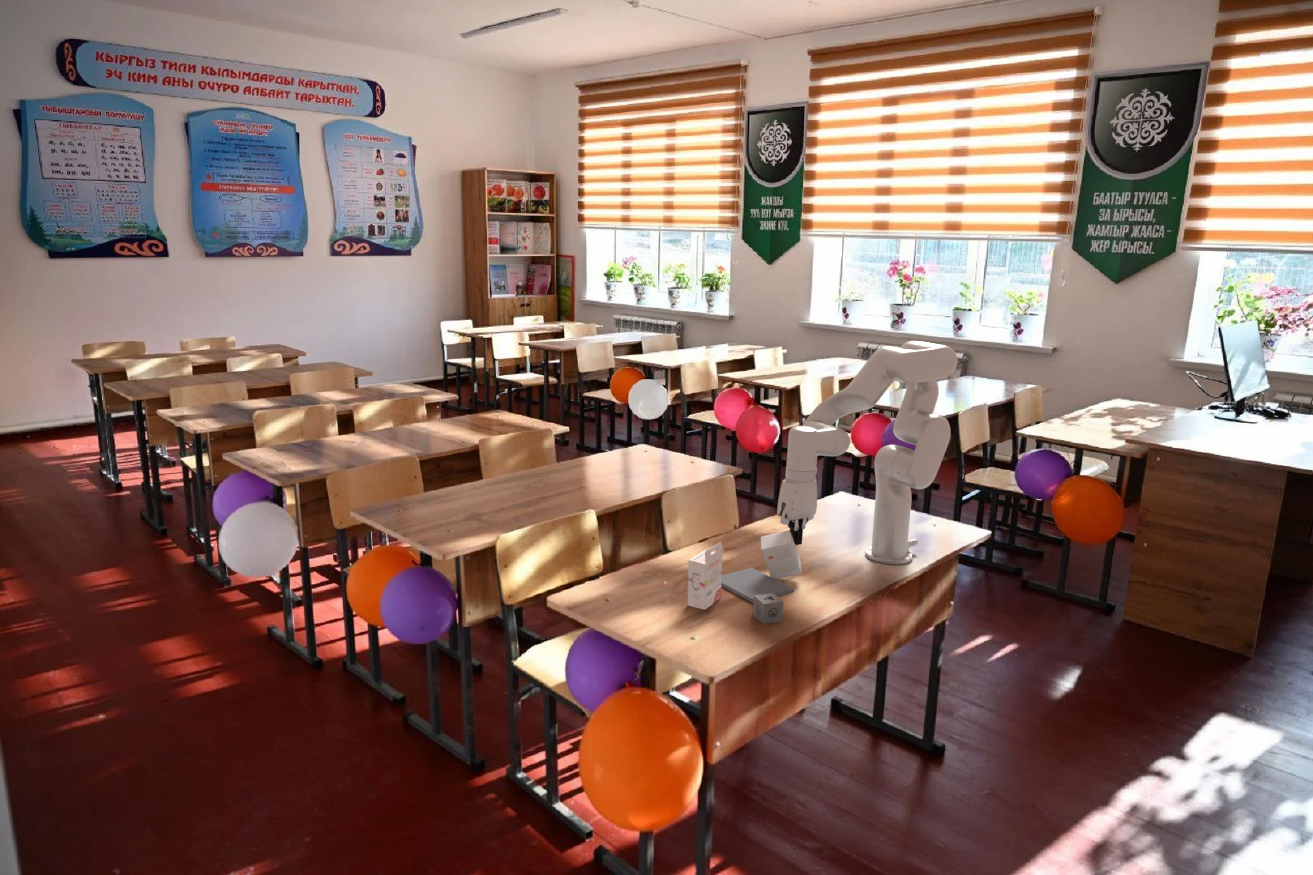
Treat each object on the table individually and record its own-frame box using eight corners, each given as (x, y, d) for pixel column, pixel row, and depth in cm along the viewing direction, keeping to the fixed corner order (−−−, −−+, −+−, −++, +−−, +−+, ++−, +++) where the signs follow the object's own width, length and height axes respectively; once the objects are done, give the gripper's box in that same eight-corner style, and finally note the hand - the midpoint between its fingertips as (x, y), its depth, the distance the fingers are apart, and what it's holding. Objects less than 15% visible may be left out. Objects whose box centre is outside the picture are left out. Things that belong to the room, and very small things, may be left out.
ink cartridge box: (703, 593, 213) (705, 537, 210) (721, 598, 211) (723, 541, 207) (686, 605, 206) (687, 547, 203) (704, 610, 204) (706, 551, 200)
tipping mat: (751, 571, 228) (751, 567, 228) (793, 591, 215) (793, 588, 215) (712, 581, 221) (712, 577, 221) (753, 603, 208) (753, 599, 208)
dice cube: (782, 621, 199) (783, 601, 198) (762, 624, 197) (763, 604, 196) (772, 612, 203) (773, 592, 202) (752, 615, 202) (753, 595, 200)
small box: (800, 560, 225) (790, 529, 220) (802, 574, 220) (791, 542, 215) (770, 566, 227) (760, 535, 222) (771, 580, 222) (760, 549, 217)
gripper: (811, 468, 227) (806, 534, 231) (768, 474, 219) (763, 543, 223) (832, 475, 221) (826, 543, 225) (788, 482, 213) (783, 552, 217)
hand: (795, 543), depth 224 cm, fingers closed
